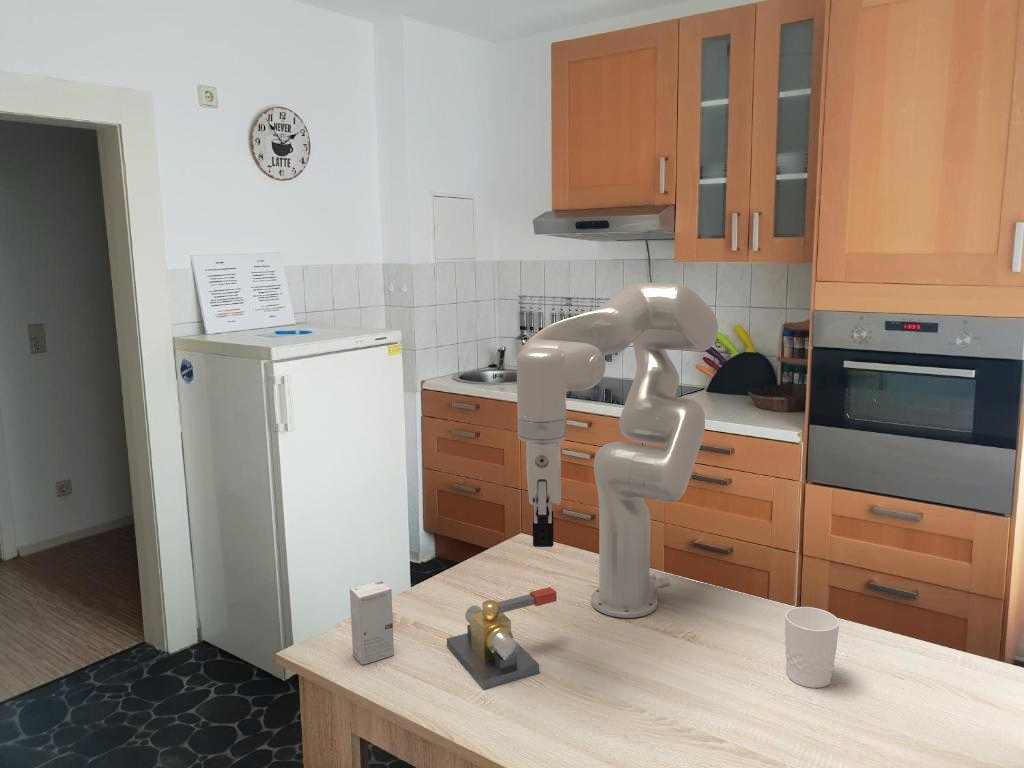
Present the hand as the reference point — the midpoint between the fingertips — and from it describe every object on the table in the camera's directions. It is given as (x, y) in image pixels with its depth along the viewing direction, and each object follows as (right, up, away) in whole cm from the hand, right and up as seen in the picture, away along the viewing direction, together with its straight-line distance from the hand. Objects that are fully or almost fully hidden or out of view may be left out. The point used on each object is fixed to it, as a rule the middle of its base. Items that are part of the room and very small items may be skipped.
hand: (543, 539), depth 124 cm
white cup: (+42, -22, 0) cm, 48 cm away
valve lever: (-4, -13, +8) cm, 16 cm away
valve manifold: (-8, -22, +7) cm, 24 cm away
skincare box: (-29, -22, +9) cm, 37 cm away
